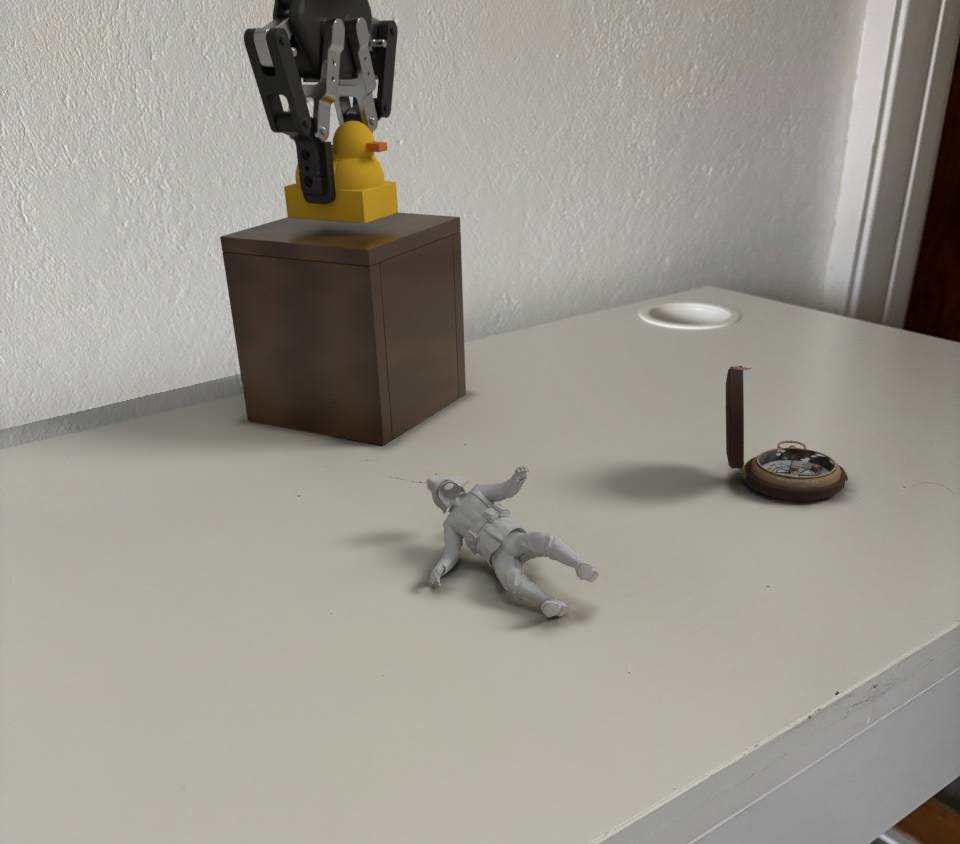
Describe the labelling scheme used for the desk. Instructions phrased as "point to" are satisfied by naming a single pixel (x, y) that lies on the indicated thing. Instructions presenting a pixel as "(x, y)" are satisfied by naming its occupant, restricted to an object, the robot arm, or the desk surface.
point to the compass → (777, 457)
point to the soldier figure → (499, 537)
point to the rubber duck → (350, 181)
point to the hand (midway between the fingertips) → (340, 195)
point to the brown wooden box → (348, 322)
